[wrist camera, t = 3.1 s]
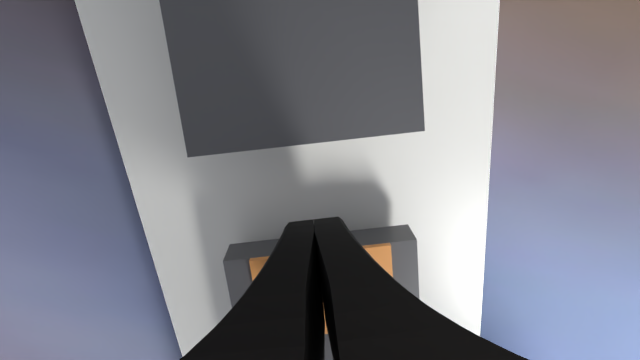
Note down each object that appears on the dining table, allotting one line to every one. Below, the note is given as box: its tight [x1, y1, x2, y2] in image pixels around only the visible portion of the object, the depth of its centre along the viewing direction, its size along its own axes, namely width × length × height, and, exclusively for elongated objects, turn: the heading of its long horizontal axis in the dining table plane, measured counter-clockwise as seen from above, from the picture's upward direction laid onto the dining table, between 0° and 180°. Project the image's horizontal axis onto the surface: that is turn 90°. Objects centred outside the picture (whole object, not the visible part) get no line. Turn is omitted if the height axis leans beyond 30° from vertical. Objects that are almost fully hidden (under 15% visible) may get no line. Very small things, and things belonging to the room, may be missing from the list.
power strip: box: [74, 0, 500, 357], centre depth 15 cm, size 31×10×3 cm, turn 6°
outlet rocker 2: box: [223, 224, 419, 360], centre depth 12 cm, size 6×5×1 cm
